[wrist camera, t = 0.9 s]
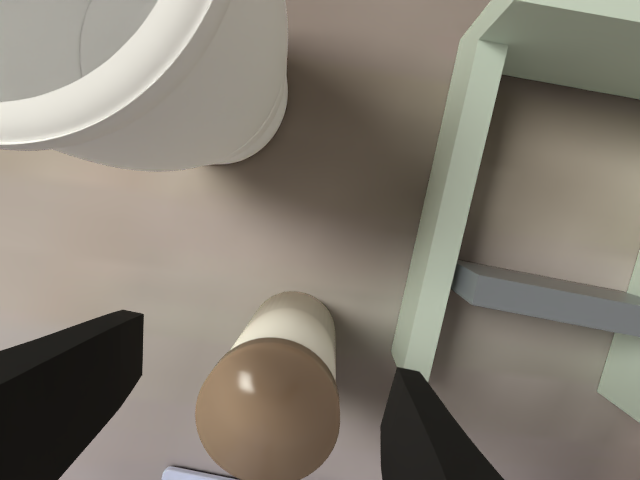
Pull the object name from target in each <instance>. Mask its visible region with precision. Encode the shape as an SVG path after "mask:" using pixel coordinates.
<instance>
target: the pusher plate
mask: <svg viewBox="0 0 640 480" xmlns="http://www.w3.org/2000/svg"><path fill="white" fill-rule="evenodd" d="M451 289H452V290H453V291H454V292H456V293H457V294H458V295H460V296H461V297H462V298H463V299H465V300H466V301H467V302H469V303H470V304H471V305H475V306H480V307H485V308H491V309H496V310H501V311H506V312H511V313H517V314H522V315H527V316H532V317H537V318H543V319H548V320H553V321H558V322H563V323H569V324H574V325H579V326H584V327H589V328H595V329H600V330H605V331H610V332H616V333H621V334H626V335H631V336H636V337H640V297H639V296H636V295H633V294H630V293H627V292H623V291H619V290H613V289H608V288H603V287H597V286H592V285H587V284H582V283H576V282H571V281H566V280H561V279H555V278H550V277H545V276H540V275H534V274H529V273H524V272H519V271H513V270H508V269H503V268H497V267H492V266H487V265H482V264H476V263H471V262H466V261H461V260H457V263H456V268H455V272H454V276H453V280H452V284H451Z"/></svg>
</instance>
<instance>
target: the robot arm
mask: <svg viewBox="0 0 640 480" xmlns="http://www.w3.org/2000/svg"><path fill="white" fill-rule="evenodd" d="M143 321H144V314H141V313H136V312H131V311H126V310H121V311H117V312H113V313H110V314H107V315H104V316H101V317H98V318H95V319H92V320H89V321H86V322H84V323H81V324H78V325H75V326H72V327H70V328H67V329H64V330H61V331H58V332H56V333H53V334H50V335H47V336H44V337H41V338H39V339H36V340H33V341H30V342H27V343H23V344H20V345H17V346H14V347H11V348H8V349H5V350H2V351H0V480H58V479H59V478H60V477H61V476H62V475H63V473H64V472H65V471H66V470H67V469H68V468H69V467H70V465H71V464H72V463H73V462H74V461H75V460H76V458H77V457H78V456H79V455H80V454H81V453H82V452H83V450H84V449H85V448H86V447H87V446H88V445H89V443H90V442H91V441H92V440H93V439H94V438H95V437H96V435H97V434H98V433H99V432H100V431H101V430H102V428H103V427H104V426H105V425H106V424H107V423H108V421H109V420H110V419H111V418H112V417H113V416H114V414H115V413H116V412H117V411H118V410H119V408H120V407H121V406H122V404H123V403H124V401H125V400H126V398H127V397H128V396H129V394H130V393H131V391H132V390H133V388H134V386H135V385H136V383H137V382H138V380H139V379H140V377H141V376H142V362H143ZM381 471H382V480H504V479H503V478H502V477H501V475H500V474H499V473H498V472H497V471H496V470H495V468H494V467H493V466H492V465H491V464H490V463H489V461H488V460H487V459H486V458H485V457H484V456H483V454H482V453H481V452H480V451H479V450H478V448H477V447H476V446H475V445H474V443H473V442H472V441H471V440H470V438H469V437H468V436H467V435H466V433H465V432H464V431H463V430H462V428H461V427H460V426H459V424H458V423H457V422H456V420H455V419H454V418H453V416H452V415H451V414H450V412H449V411H448V410H447V408H446V407H445V406H444V404H443V403H442V401H441V400H440V399H439V397H438V396H437V395H436V393H435V392H434V390H433V389H432V388H431V386H430V385H429V383H428V382H427V381H426V379H425V378H424V377H423V375H422V374H421V373H420V371H415V370H410V369H406V368H401V367H397V369H396V373H395V377H394V380H393V384H392V387H391V391H390V394H389V398H388V402H387V405H386V409H385V412H384V416H383V419H382V423H381ZM162 480H237V479H232V478H227V477H222V476H217V475H212V474H207V473H202V472H198V471H193V470H188V469H183V468H178V467H173V466H169V467H167V468H166V469H165V470H164V472H163V475H162Z"/></svg>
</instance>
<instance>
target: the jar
mask: <svg viewBox="0 0 640 480" xmlns="http://www.w3.org/2000/svg"><path fill="white" fill-rule="evenodd" d="M287 53H288V21H287V10H286V2H285V0H0V149H4V150H18V151H37V150H49V149H53V150H56V151H59V152H62V153H64V154H67V155H70V156H73V157H77V158H80V159H83V160H87V161H90V162H94V163H98V164H102V165H106V166H111V167H116V168H122V169H129V170H137V171H154V172H162V171H178V170H185V169H191V168H196V167H200V166H207V165H212V164H230V163H235V162H239V161H242V160H244V159H246V158H248V157H250V156H252V155H254V154H255V153H257V152H258V151H260V150H261V149H262V148H263V147H264V146H265V145H266V144H267V143H268V142H269V141H270V140H271V139H272V137H273V136H274V135H275V133H276V132H277V130H278V128H279V126H280V124H281V122H282V120H283V117H284V114H285V110H286V106H287V99H288V83H287V76H286V73H287Z"/></svg>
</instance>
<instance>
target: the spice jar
mask: <svg viewBox="0 0 640 480" xmlns="http://www.w3.org/2000/svg"><path fill="white" fill-rule="evenodd" d="M195 417H196V426H197V431H198V434H199V437H200V440H201V442H202V444H203V446H204V448H205V450H206V451H207V453H208V454H209V455H210V457H211V458H212V459H213V460H214V461H215V462H216V463H217V464H218V465H219V466H220V467H221V468H222V469H224V470H225V471H227V472H228V473H229V474H231V475H233V476H235V477H237V478H239V479H241V480H300V479H302V478H304V477H306V476H308V475H309V474H311V473H312V472H314V471H315V470H316V469H318V468H319V467H320V466H321V465H322V464H323V463H324V461H325V460H326V459H327V458H328V456H329V455H330V453H331V452H332V450H333V448H334V446H335V443H336V441H337V437H338V434H339V427H340V404H339V393H338V388H337V384H336V366H335V325H334V321H333V318H332V316H331V314H330V312H329V311H328V309H327V308H326V307H325V305H324V304H322V303H321V302H320V301H319V300H318V299H316V298H315V297H313V296H311V295H308V294H306V293H302V292H295V291H289V292H283V293H279V294H277V295H274V296H272V297H271V298H269V299H268V300H266V301H265V302H264V303H263V304H262V305H261V306H260V308H259V309H258V310H257V312H256V313H255V315H254V316H253V318H252V319H251V321H250V322H249V324H248V325H247V327H246V328H245V329H244V331H243V332H242V334H241V335H240V337H239V338H238V340H237V341H236V343H235V344H234V346H233V347H232V349H231V350H230V351H229V352H227V353H226V354H225V355H224V356H223V357H222V358H221V359H220V361H219V362H218V363H217V365H216V366H215V367H214V369H213V370H212V372H211V373H210V374H209V376H208V377H207V379H206V380H205V382H204V384H203V385H202V387H201V390H200V392H199V395H198V398H197V403H196V411H195Z"/></svg>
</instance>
